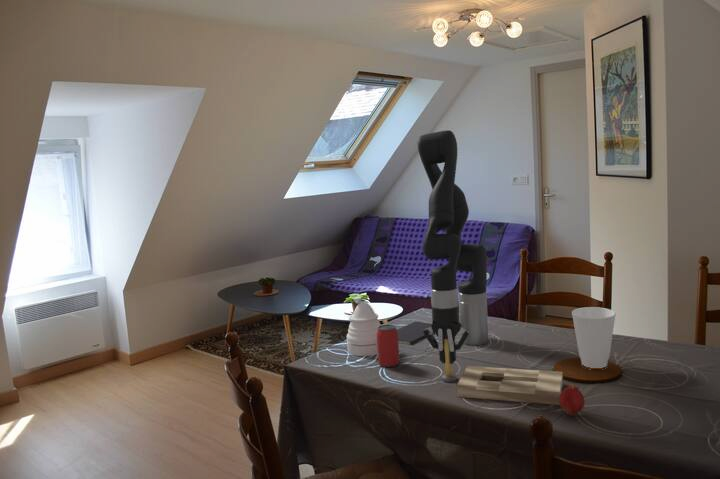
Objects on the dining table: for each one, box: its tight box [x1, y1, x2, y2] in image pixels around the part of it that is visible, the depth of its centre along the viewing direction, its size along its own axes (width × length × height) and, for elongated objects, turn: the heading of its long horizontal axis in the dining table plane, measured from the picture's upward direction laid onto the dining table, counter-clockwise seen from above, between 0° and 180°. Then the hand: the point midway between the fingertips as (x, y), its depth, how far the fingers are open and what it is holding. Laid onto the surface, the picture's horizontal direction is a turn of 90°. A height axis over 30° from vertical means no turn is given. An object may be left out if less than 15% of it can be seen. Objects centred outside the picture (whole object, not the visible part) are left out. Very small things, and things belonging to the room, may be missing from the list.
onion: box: [559, 383, 585, 417], centre depth 148 cm, size 6×6×8 cm
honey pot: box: [346, 296, 382, 357], centre depth 206 cm, size 13×13×18 cm
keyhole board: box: [456, 365, 564, 406], centre depth 165 cm, size 14×26×3 cm, turn 69°
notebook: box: [396, 321, 435, 346], centre depth 221 cm, size 13×2×21 cm
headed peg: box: [441, 339, 457, 383], centre depth 175 cm, size 4×4×13 cm
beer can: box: [377, 324, 400, 368], centre depth 191 cm, size 7×7×12 cm
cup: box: [571, 306, 616, 368], centre depth 178 cm, size 12×12×16 cm
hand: (447, 362), depth 176 cm, fingers closed on headed peg, 2 cm apart
